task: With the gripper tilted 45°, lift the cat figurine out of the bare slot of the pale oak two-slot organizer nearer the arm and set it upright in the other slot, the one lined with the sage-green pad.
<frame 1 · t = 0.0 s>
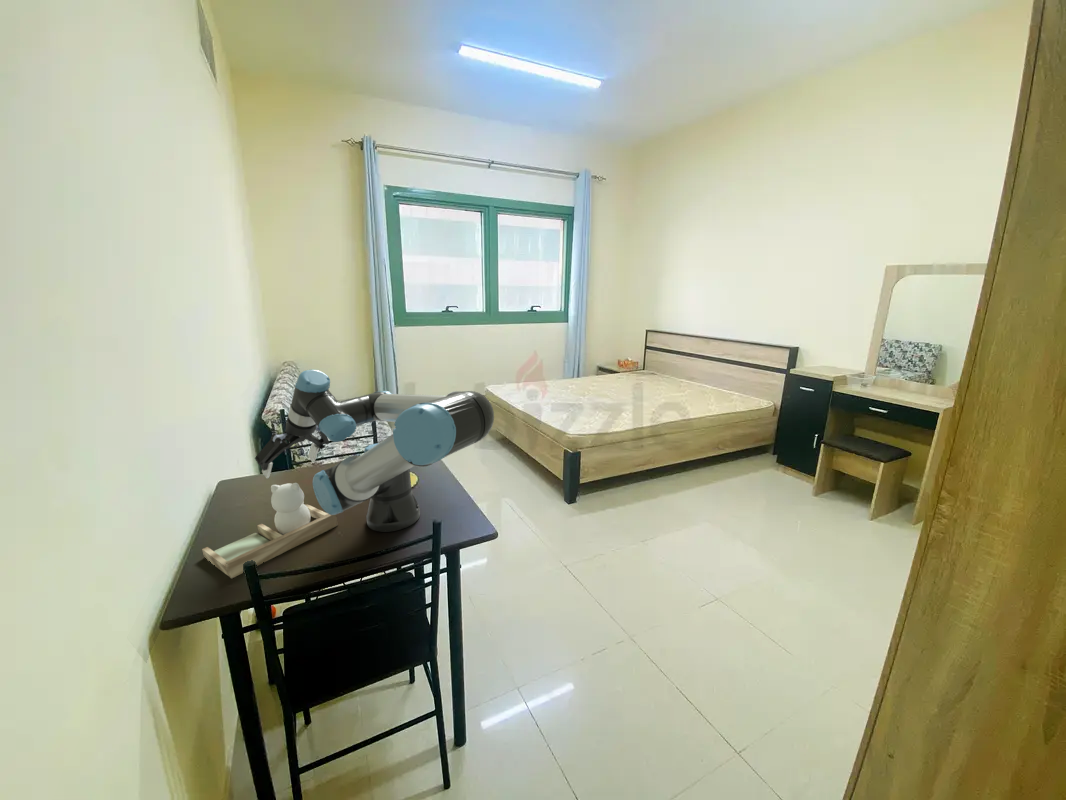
hand: (289, 466, 127), 15 cm above the table, tool tilted 35°, fingers open, 13 cm apart
organizer: (274, 540, 116), on the table
cat figurine: (295, 528, 122), resting in organizer
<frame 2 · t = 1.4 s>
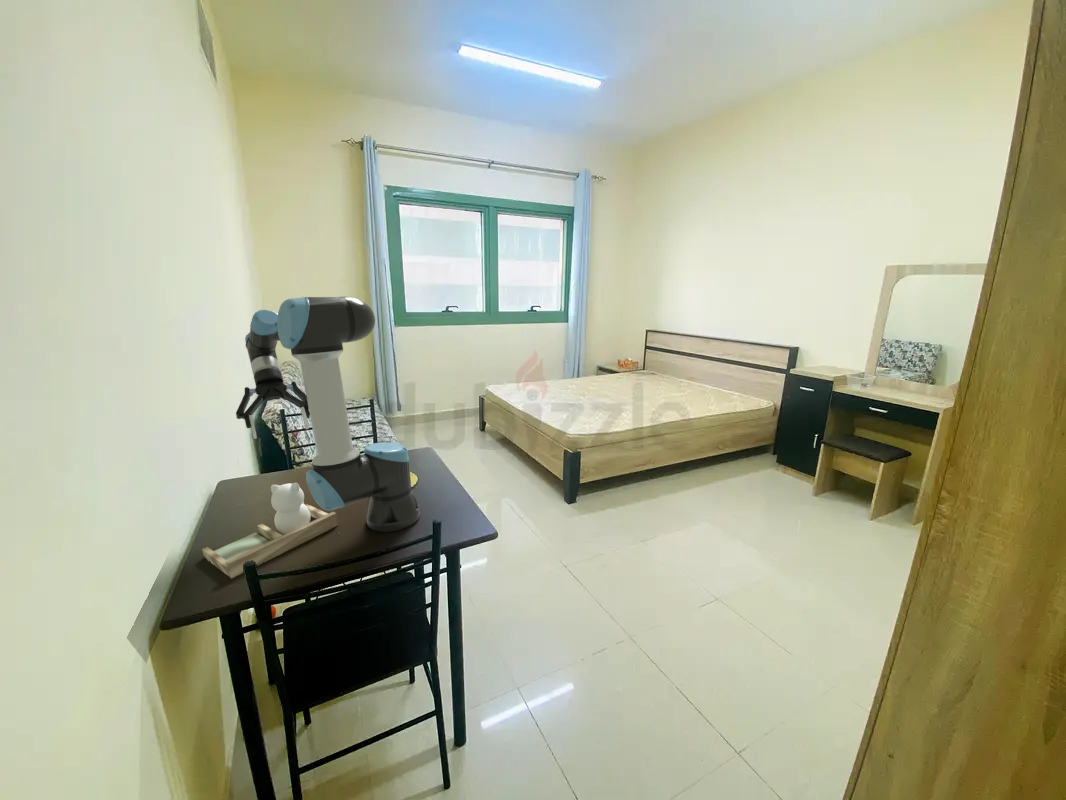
hand: (282, 431, 125), 26 cm above the table, tool tilted 45°, fingers open, 13 cm apart
nothing on the table moved.
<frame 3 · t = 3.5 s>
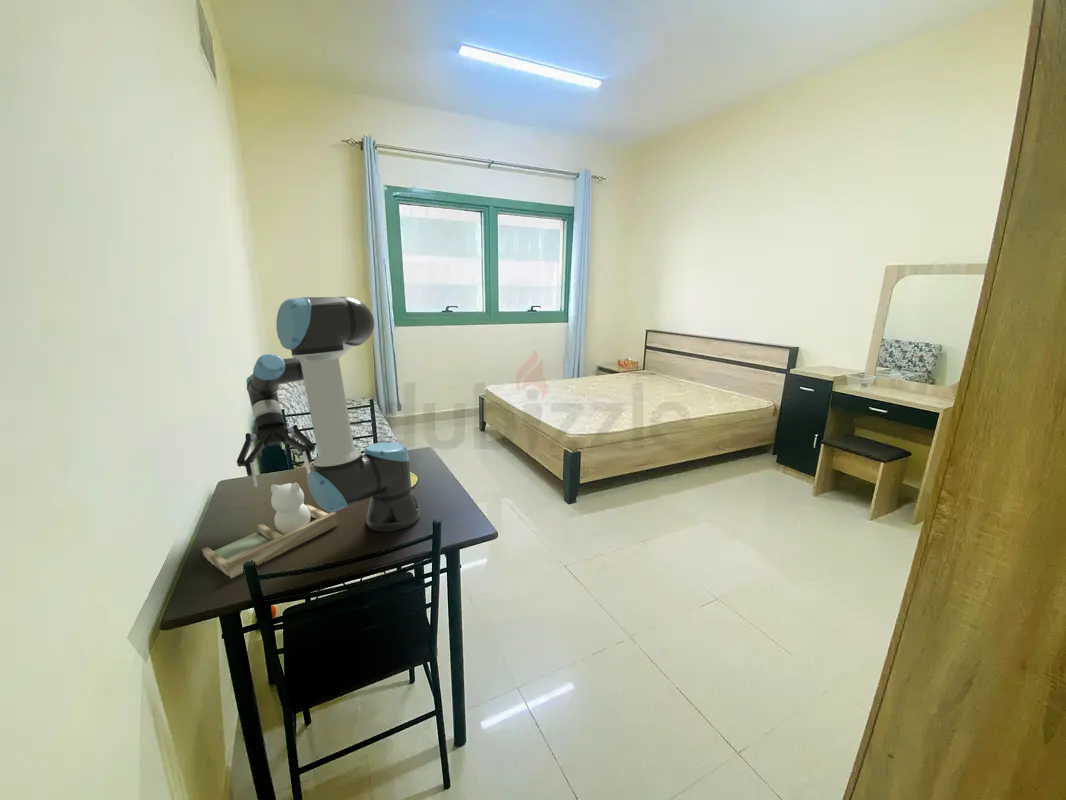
hand: (283, 478, 124), 13 cm above the table, tool tilted 45°, fingers open, 13 cm apart
nothing on the table moved.
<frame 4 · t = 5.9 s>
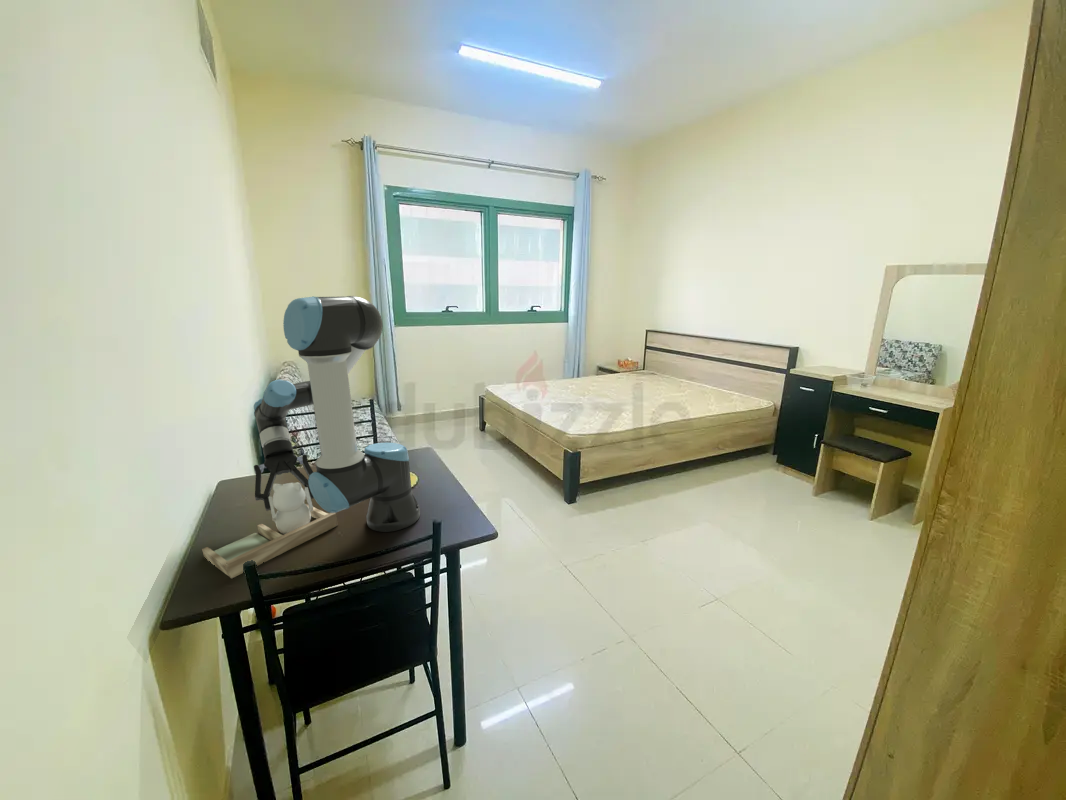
hand: (293, 514, 118), 6 cm above the table, tool tilted 45°, fingers closed on cat figurine, 8 cm apart
cat figurine: (295, 527, 122), resting in organizer, touching gripper
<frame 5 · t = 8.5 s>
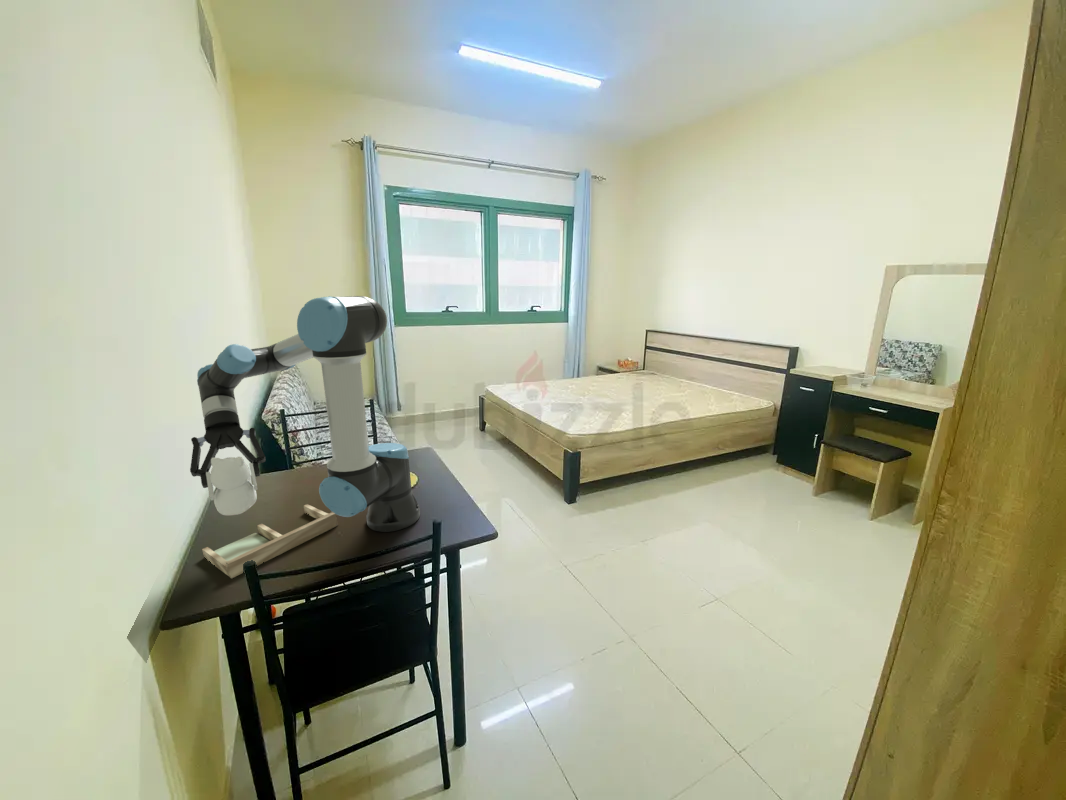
hand: (234, 492, 105), 18 cm above the table, tool tilted 45°, fingers closed on cat figurine, 8 cm apart
cat figurine: (239, 508, 109), point 12 cm above the table, touching gripper
when the fingers open (7 cm above the table, at t = 10.9 s): cat figurine drops 1 cm, resting on organizer.
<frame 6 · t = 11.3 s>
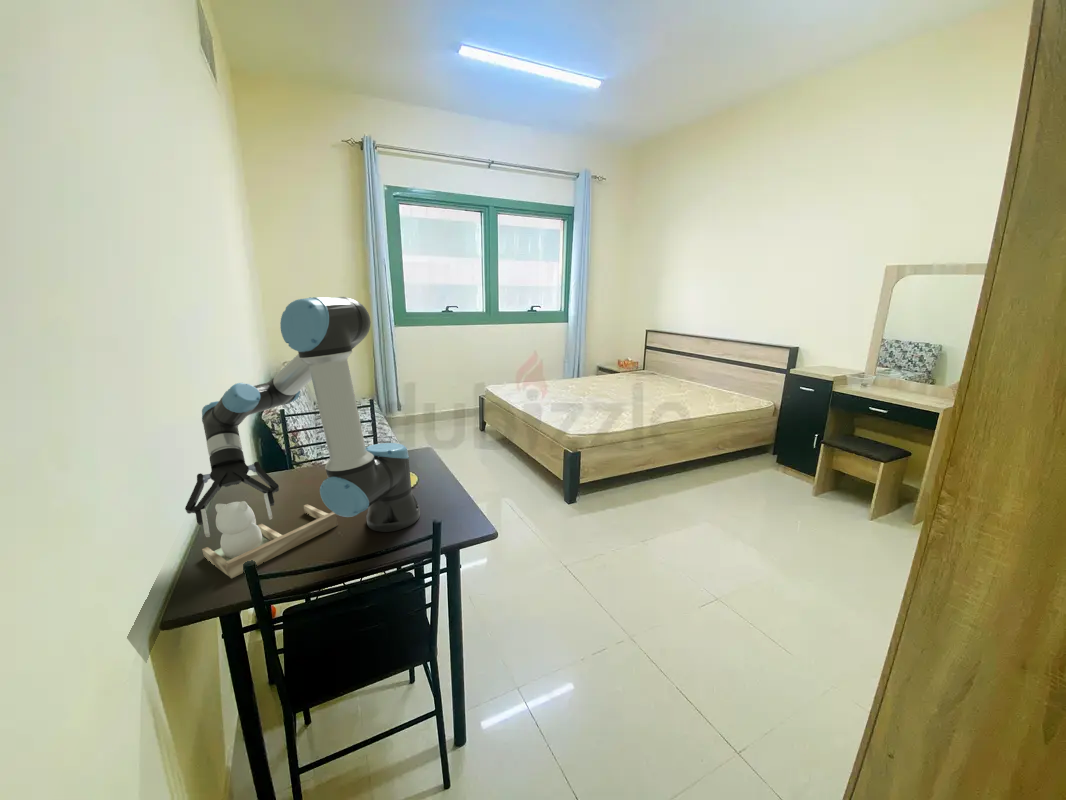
hand: (240, 526, 108), 8 cm above the table, tool tilted 45°, fingers open, 13 cm apart
cat figurine: (245, 550, 112), resting on organizer
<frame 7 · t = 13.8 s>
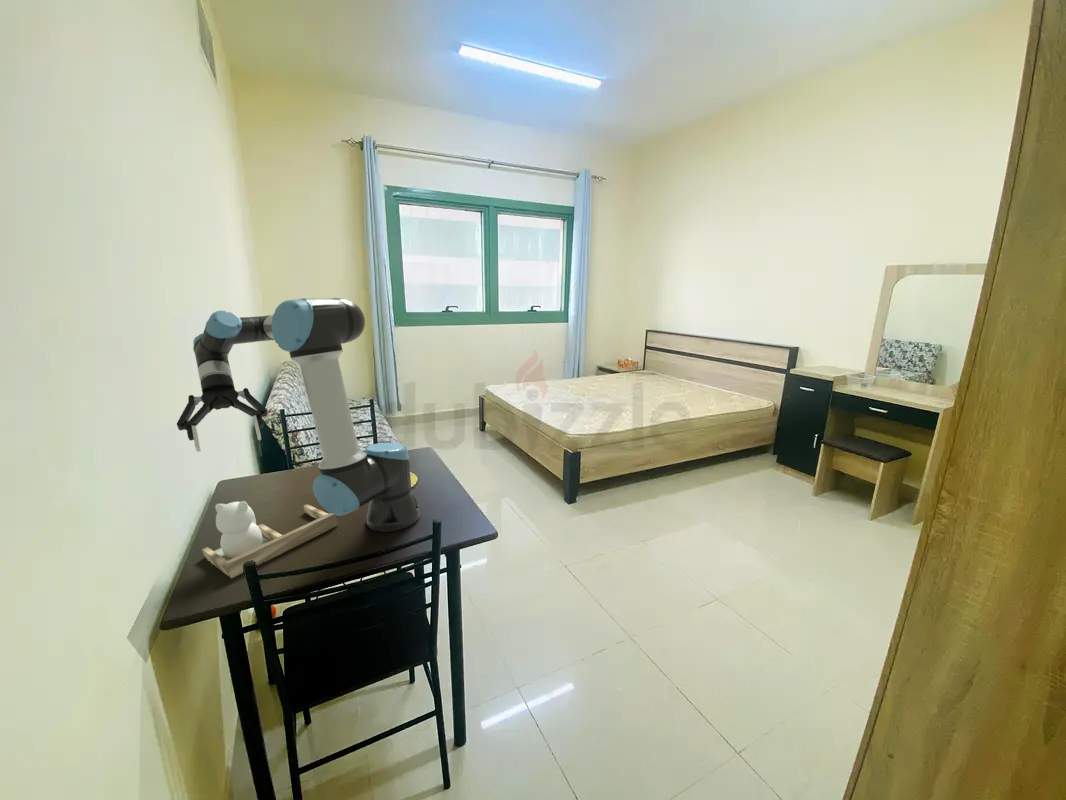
hand: (229, 443, 113), 27 cm above the table, tool tilted 45°, fingers open, 13 cm apart
nothing on the table moved.
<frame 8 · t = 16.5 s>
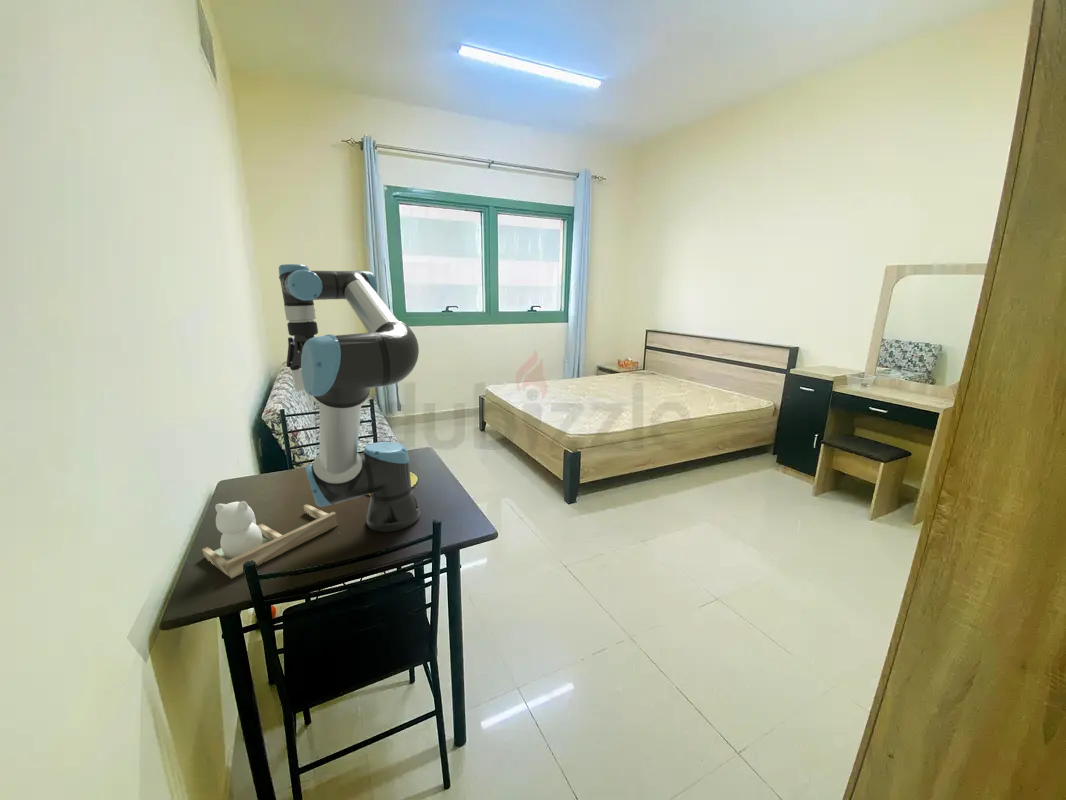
hand: (312, 393, 126), 37 cm above the table, tool pointing down, fingers open, 13 cm apart
nothing on the table moved.
at the end: cat figurine inside the target area on the organizer (0.3 cm from its centre), point 0.1 cm above the organizer's base; cat figurine tilted 0°; the gripper is holding nothing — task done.
